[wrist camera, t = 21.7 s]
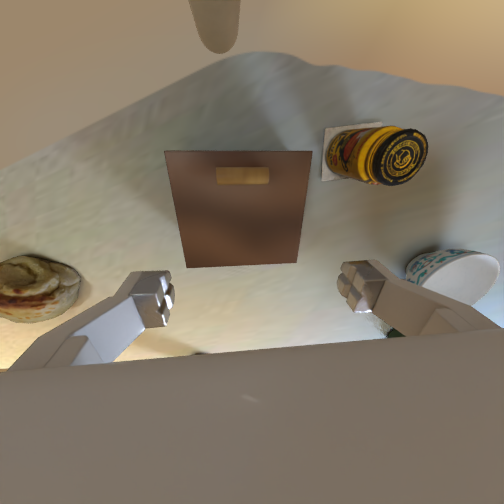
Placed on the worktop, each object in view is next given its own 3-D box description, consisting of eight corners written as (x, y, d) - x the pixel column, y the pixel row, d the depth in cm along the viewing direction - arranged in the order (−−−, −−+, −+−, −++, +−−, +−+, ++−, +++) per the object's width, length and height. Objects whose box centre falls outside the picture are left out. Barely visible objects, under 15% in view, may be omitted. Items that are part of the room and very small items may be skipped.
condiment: (324, 128, 28) (379, 122, 18) (381, 121, 29) (468, 112, 18) (320, 181, 32) (364, 201, 22) (371, 175, 32) (438, 192, 22)
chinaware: (457, 273, 45) (496, 297, 39) (392, 302, 48) (419, 328, 41) (456, 221, 38) (504, 238, 32) (380, 258, 41) (410, 281, 34)
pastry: (70, 251, 34) (28, 280, 27) (96, 305, 40) (68, 340, 33) (-25, 253, 32) (-94, 284, 25) (18, 309, 38) (-29, 346, 32)
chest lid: (166, 150, 21) (152, 153, 17) (310, 150, 22) (326, 153, 18) (187, 265, 28) (181, 285, 24) (295, 260, 30) (304, 278, 26)
